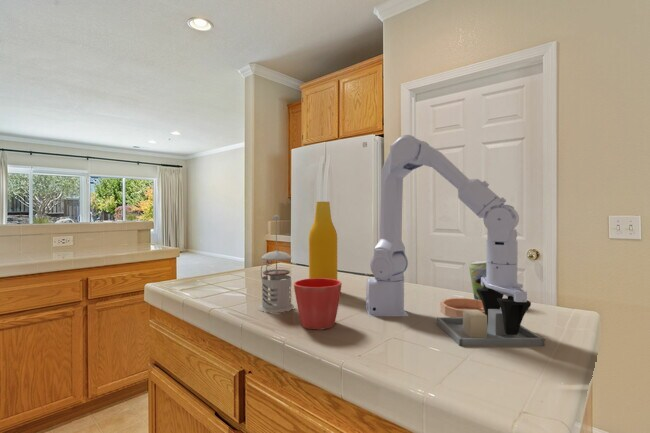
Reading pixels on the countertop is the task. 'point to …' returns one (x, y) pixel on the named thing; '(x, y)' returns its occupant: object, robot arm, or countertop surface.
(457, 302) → the bowl
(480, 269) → the beverage can
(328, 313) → the flower pot
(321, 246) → the beer bottle
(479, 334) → the cream wooden cube
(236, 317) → the countertop surface
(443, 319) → the tray
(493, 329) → the grey sharp-edged cube
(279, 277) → the french press
